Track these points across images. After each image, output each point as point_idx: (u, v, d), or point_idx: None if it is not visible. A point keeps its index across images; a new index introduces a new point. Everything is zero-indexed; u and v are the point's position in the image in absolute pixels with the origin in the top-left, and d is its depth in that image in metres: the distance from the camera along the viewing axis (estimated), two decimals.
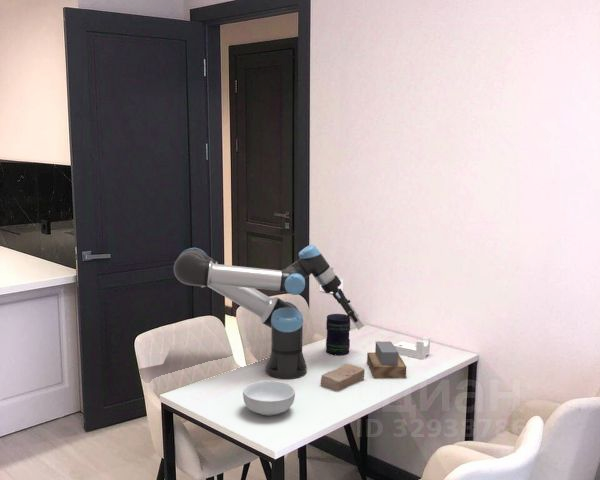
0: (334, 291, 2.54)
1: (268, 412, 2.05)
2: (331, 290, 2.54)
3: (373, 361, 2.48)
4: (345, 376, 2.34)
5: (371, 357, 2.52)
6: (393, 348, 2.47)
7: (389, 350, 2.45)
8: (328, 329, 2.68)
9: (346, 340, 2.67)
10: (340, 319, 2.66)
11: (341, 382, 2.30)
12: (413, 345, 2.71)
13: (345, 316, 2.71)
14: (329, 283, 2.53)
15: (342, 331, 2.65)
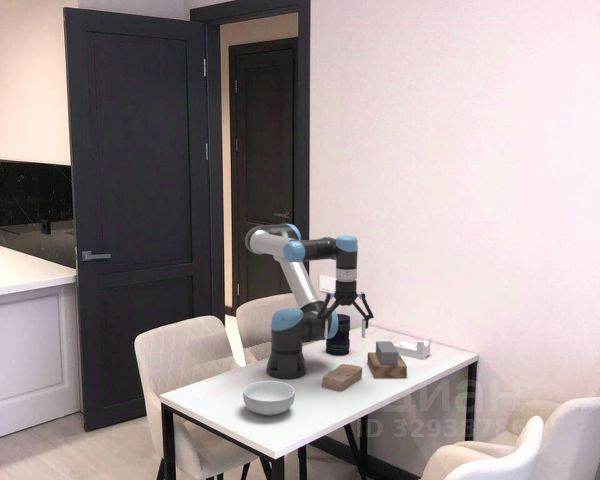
0: (335, 291, 2.33)
1: (268, 412, 2.05)
2: None
3: (373, 361, 2.48)
4: (346, 376, 2.34)
5: (371, 357, 2.52)
6: (393, 348, 2.47)
7: (388, 350, 2.45)
8: None
9: (346, 340, 2.67)
10: (340, 319, 2.66)
11: (344, 382, 2.30)
12: (414, 345, 2.71)
13: (345, 316, 2.71)
14: (336, 281, 2.33)
15: (342, 331, 2.65)
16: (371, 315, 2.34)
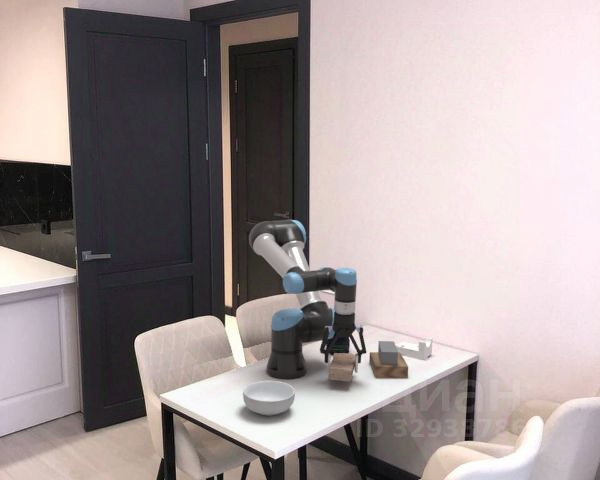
0: (333, 322, 2.35)
1: (268, 412, 2.05)
2: None
3: (375, 361, 2.48)
4: (350, 364, 2.35)
5: (373, 357, 2.52)
6: (394, 348, 2.47)
7: (389, 350, 2.45)
8: None
9: (346, 340, 2.67)
10: None
11: (352, 371, 2.31)
12: (415, 346, 2.71)
13: None
14: (334, 312, 2.34)
15: None
16: (364, 350, 2.36)
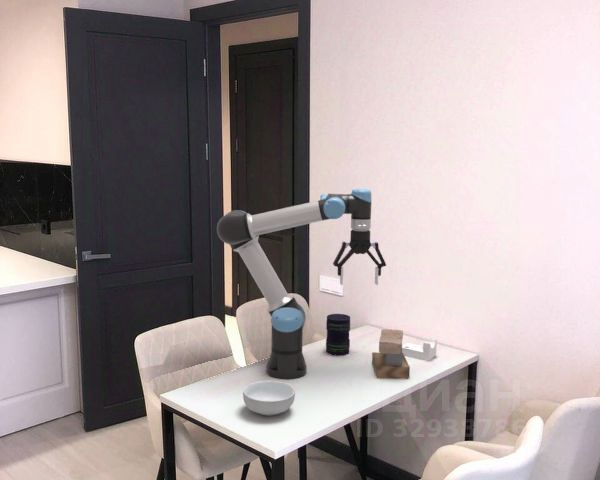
0: (350, 240, 2.52)
1: (268, 412, 2.05)
2: None
3: (377, 361, 2.48)
4: (398, 339, 2.46)
5: (375, 357, 2.52)
6: None
7: None
8: (328, 329, 2.68)
9: (346, 340, 2.67)
10: (340, 319, 2.66)
11: (401, 344, 2.42)
12: (420, 347, 2.69)
13: (345, 316, 2.71)
14: (351, 230, 2.51)
15: (342, 331, 2.65)
16: (384, 263, 2.52)
